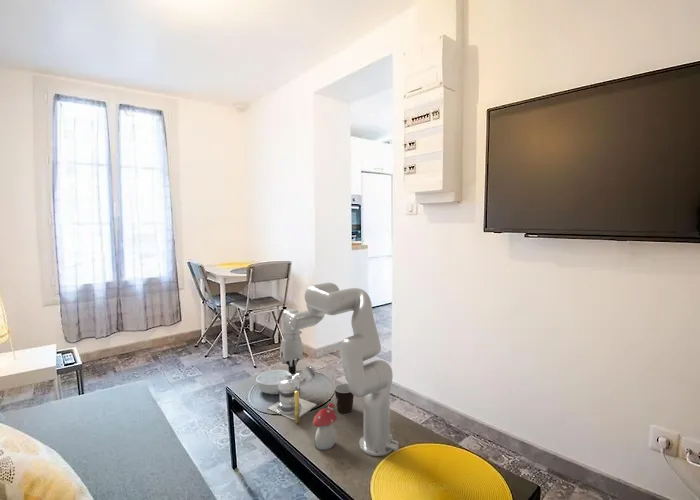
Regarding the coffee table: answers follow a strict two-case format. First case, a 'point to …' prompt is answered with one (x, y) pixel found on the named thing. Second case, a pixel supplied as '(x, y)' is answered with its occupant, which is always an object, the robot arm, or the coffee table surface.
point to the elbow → (294, 381)
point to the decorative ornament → (325, 428)
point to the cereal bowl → (270, 380)
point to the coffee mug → (343, 399)
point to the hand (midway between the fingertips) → (292, 373)
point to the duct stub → (292, 406)
